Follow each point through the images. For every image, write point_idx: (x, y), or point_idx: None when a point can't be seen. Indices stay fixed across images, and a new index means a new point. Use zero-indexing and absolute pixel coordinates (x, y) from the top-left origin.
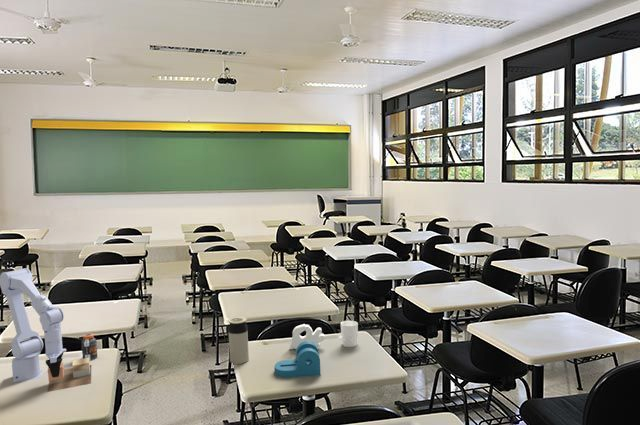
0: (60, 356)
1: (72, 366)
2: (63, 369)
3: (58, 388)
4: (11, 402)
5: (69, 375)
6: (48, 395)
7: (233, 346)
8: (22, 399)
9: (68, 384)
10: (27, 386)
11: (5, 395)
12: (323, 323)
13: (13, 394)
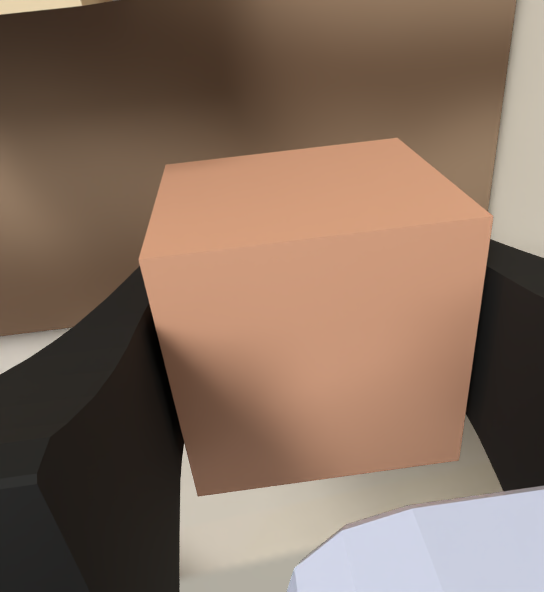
0: (106, 438)
1: (87, 2)
2: (240, 190)
3: (453, 166)
4: (480, 486)
5: (10, 85)
6: (534, 244)
7: None
8: (472, 434)
9: (385, 42)
10: (187, 466)
11: (313, 548)
12: None
13: (322, 511)
